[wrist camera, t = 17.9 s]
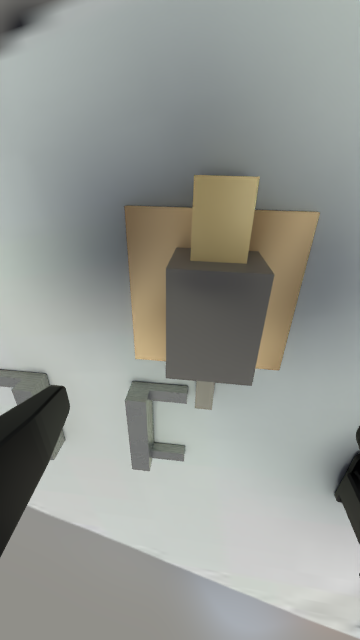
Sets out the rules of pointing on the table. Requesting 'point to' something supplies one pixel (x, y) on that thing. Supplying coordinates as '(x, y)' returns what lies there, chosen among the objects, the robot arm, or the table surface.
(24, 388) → the pair of grey brackets
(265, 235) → the pad
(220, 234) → the plug
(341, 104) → the table surface
